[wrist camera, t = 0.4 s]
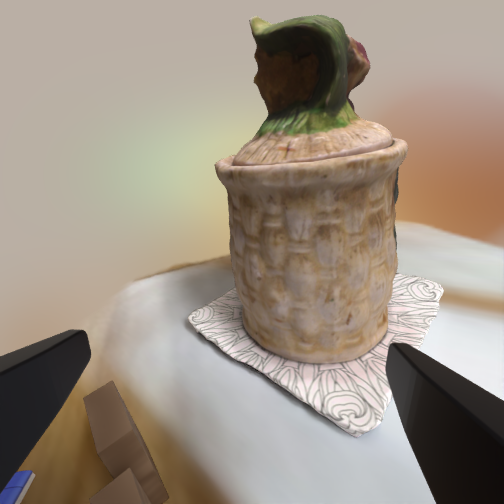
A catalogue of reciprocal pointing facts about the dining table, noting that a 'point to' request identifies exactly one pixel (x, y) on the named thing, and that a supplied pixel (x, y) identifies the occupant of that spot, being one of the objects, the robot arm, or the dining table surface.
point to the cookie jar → (317, 233)
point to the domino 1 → (122, 441)
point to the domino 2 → (121, 491)
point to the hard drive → (17, 487)
